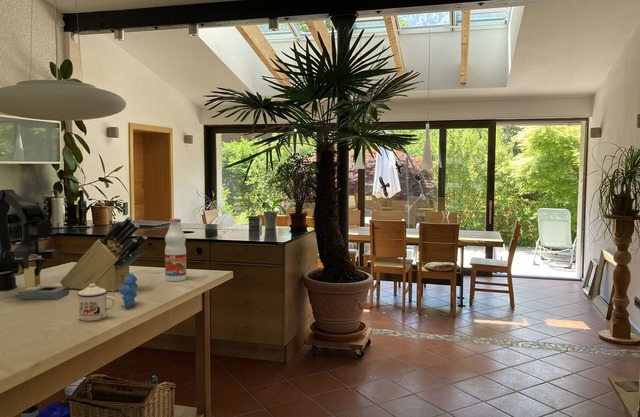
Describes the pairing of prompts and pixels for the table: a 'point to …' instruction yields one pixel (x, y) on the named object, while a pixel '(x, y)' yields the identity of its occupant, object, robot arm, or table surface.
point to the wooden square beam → (31, 277)
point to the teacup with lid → (93, 303)
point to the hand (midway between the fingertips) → (32, 275)
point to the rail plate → (43, 293)
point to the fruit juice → (175, 252)
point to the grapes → (129, 290)
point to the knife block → (107, 259)
